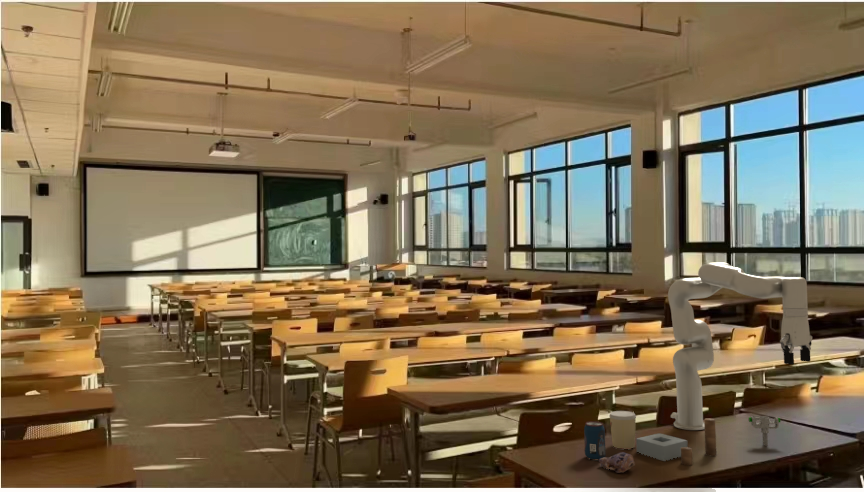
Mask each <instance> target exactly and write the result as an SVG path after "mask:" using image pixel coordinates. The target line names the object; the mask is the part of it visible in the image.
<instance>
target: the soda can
mask: <svg viewBox="0 0 864 492" xmlns="http://www.w3.org/2000/svg"><path fill="white" fill-rule="evenodd" d="M603 424H604V423H603V422H601V421H595V420H594V421H593V420H592V421H586V422H585V425H584V427H583V428H584V429H583V432H584V434H583V435H584V455H585V456H586V458H587V457H588V458H590V459H600V458H603V457H605V458H606V433H605V432H606V431H605V427H604V425H603ZM588 458H587V459H588ZM590 459H589V460H590Z"/></svg>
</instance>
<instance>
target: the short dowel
mask: <svg viewBox="0 0 864 492" xmlns="http://www.w3.org/2000/svg"><path fill="white" fill-rule="evenodd" d="M680 458H681V459H680V461H681V465H683V464H684V465H683V466H692V464H694V463H693V462H694V461H693V448H692V447H689V446H688V447H682V448H681V457H680Z"/></svg>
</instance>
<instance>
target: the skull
mask: <svg viewBox="0 0 864 492" xmlns="http://www.w3.org/2000/svg"><path fill="white" fill-rule="evenodd" d="M598 462H599V463H600V467H602V466H603V468H604V467H605V468H607V469H608V471H614V472H615V473H617V474H619V473H625V472H626V471H628V470H630V469H631V468H632V467H634V466H635V463H636V462H635V461H634V456H633V455H632V454H629V453H626V452H618V453H616V454H613V455H612V456H610V457H608V456H607V457H606V456H605V457H603V458H600V459H599V460H598ZM605 468H604V469H605ZM607 469H606V470H607ZM609 469H610V470H609Z"/></svg>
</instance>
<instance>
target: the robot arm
mask: <svg viewBox="0 0 864 492" xmlns="http://www.w3.org/2000/svg"><path fill="white" fill-rule="evenodd" d="M697 273H698V277H685V278H680V279H678V280H675V281H673V283H672V284H671V285H670V287H669V288H668V293H667V296H668V297H667V298H668V304H669V308H670V313H671V321H672V322H671V323H672V330H673V331H672V332H673V337H674V340H675V341H676V343H678V345H679V344H680V345H691V346H690V347H683V348H680V349H678V350H676V351H675V352H674V354H673V356H672V363H673V368H674V372H675V374H674V375H675V383H676V384H675V385H676V387H675V388H676V406H677V407H676V409H677V412H672V413H671V414H670V418H672V419H675V421H674V422H673V427H675V428H678V429H680V430H681V429H682V430H685V431H686V430H687V431H702V430H705V427H704V414H703V412H704V411H703V410H704V409H703V388H702V387H703V385H702V380H701V377H700V374H699V372H698V371H704V370H708V369H709V368H711V367H712V365H713V364H714V359H715V354H714V345H713V338H712V336H713V335H712V331H711V329H710V326H709V325H708V323H707V322H705V321H703V320H702V319H695V315H694V313H695V312H694V308H693V307H692V305H691V303H690V302H689V300H693V299H695V300H696V299H705V298H708V297H711V296H713V295H714V294H716V293H717V292H718V291H719V290H721V289H723V288H724V289H728V290H731V291H734V292H737V294H741V295H745V296H748V297H752V298H757V299H772V298H782V320H781V328H780V329H781V332H780V336H781V337H780V340H779V343H780V347H781V349H782V353H783V364H784V365H791V366H793V365H795V358H794V357H795V356H794V355H795V354H794V352H793V351H794V348H798V347H800V349H799V355H800V356H799V357H800V361H801V362H809V363H810V362H811V349H812V347H811V346H812V340H813V336H812V335H811V333H810V325H809V324H810V323H809V320H808V318H809V312H808V311H809V310H808V309H809V308H808V287H807V286H808V285H807V283H808V282H807V280H806V279H805V278H804V277H799V276H797V277H796V276H793V277H792V276H790V277H788V276H787V277H785V276H779V275H778V276H756V275H751V274H747V273H745V271H744V269H742V268H740V267H735V266H732V265H731V264H729V263H727V262H723V261H722V262H721V261H719V262H716V261H715V262H706V263H703V264H702V265H701V266H700V268H699V269H698V272H697Z"/></svg>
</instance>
